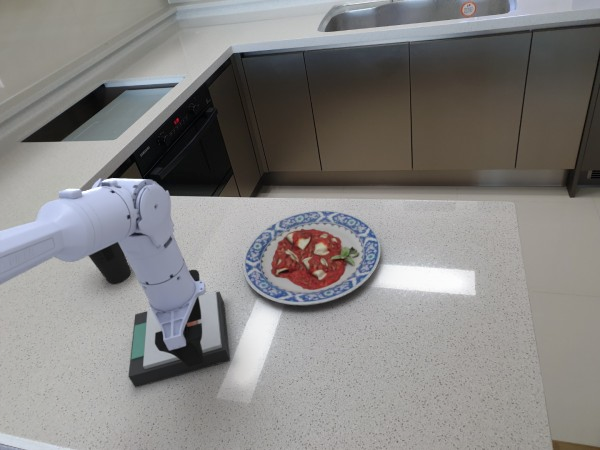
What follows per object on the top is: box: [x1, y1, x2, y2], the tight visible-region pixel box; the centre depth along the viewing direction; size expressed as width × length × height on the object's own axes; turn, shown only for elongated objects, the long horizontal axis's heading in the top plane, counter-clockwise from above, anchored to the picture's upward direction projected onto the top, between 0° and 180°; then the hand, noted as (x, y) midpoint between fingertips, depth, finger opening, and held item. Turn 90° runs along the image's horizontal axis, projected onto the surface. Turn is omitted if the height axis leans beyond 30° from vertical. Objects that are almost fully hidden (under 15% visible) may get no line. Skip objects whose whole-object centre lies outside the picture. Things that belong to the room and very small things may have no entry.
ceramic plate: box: [242, 210, 381, 306], centre depth 86 cm, size 26×26×3 cm
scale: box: [127, 290, 231, 388], centre depth 75 cm, size 15×13×4 cm
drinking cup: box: [88, 242, 132, 285], centre depth 87 cm, size 8×8×20 cm
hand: (195, 340), depth 63 cm, fingers open, 7 cm apart
